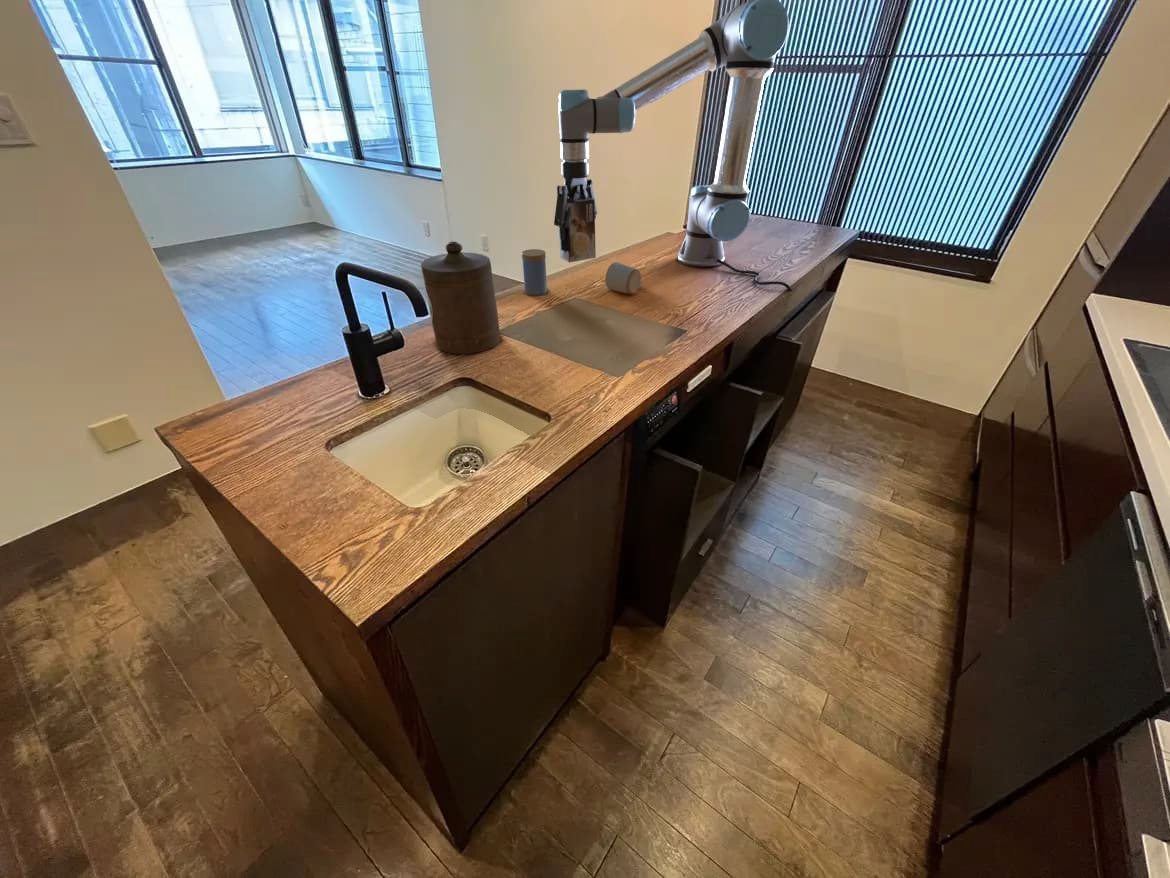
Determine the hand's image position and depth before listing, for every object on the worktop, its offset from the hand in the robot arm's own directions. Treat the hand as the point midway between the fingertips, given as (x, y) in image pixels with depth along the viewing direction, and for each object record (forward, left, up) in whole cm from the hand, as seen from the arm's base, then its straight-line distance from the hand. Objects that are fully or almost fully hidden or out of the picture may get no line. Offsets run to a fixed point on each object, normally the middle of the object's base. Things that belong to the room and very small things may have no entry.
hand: (577, 246), depth 142 cm
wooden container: (-5, +50, -10) cm, 51 cm away
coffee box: (0, 0, -4) cm, 4 cm away
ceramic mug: (-17, 0, -10) cm, 20 cm away
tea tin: (+4, +15, -10) cm, 19 cm away
